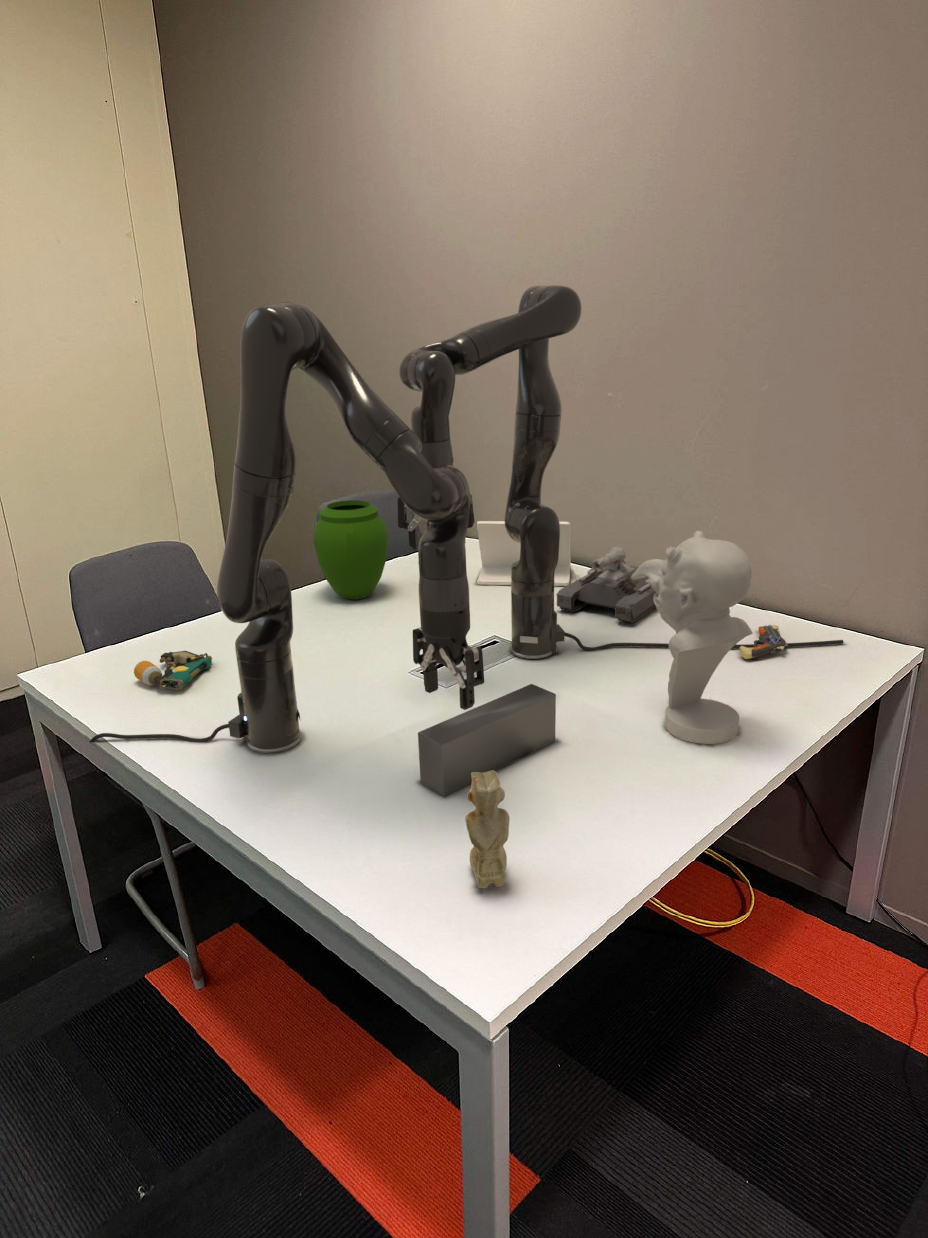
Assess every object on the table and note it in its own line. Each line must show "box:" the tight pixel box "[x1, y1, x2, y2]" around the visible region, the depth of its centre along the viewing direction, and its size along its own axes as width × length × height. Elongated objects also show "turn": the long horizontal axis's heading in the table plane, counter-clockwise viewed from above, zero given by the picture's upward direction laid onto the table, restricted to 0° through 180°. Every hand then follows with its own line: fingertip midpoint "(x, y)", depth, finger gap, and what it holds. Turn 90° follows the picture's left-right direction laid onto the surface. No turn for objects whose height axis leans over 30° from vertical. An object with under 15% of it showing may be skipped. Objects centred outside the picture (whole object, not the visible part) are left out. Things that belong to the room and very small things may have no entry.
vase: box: [312, 499, 389, 601], centre depth 223 cm, size 20×20×24 cm
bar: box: [417, 683, 557, 797], centre depth 143 cm, size 26×6×9 cm, turn 131°
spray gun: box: [133, 650, 213, 690], centre depth 180 cm, size 4×17×15 cm
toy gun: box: [739, 624, 788, 660], centre depth 187 cm, size 3×19×10 cm
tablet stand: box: [476, 520, 572, 587], centre depth 236 cm, size 18×25×17 cm
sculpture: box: [464, 770, 510, 889], centre depth 113 cm, size 6×7×15 cm
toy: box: [556, 546, 656, 624], centre depth 212 cm, size 25×20×15 cm
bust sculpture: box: [631, 530, 754, 745], centre depth 151 cm, size 16×24×35 cm, turn 28°
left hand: (449, 699), depth 134 cm, fingers open, 8 cm apart
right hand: (437, 549), depth 163 cm, fingers open, 8 cm apart
